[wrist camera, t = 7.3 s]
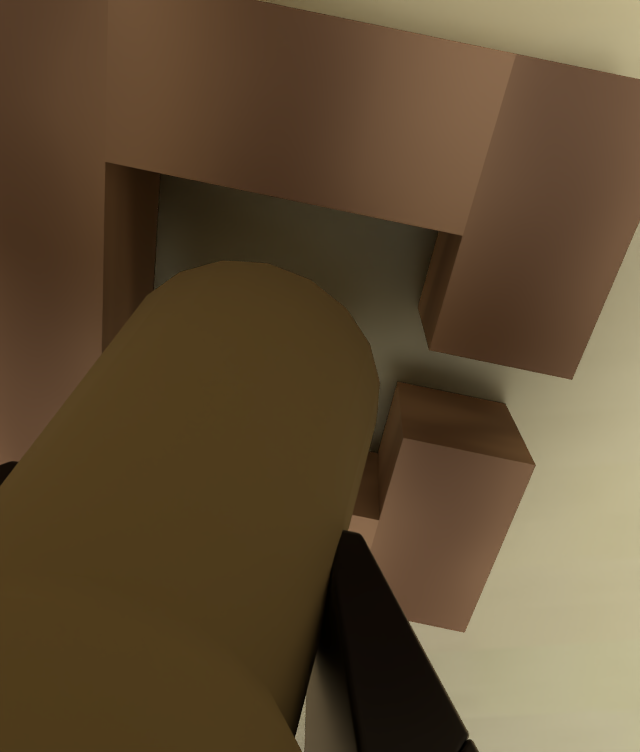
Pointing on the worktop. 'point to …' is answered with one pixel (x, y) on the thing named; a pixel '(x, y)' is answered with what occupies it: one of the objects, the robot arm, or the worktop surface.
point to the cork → (185, 522)
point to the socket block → (326, 189)
